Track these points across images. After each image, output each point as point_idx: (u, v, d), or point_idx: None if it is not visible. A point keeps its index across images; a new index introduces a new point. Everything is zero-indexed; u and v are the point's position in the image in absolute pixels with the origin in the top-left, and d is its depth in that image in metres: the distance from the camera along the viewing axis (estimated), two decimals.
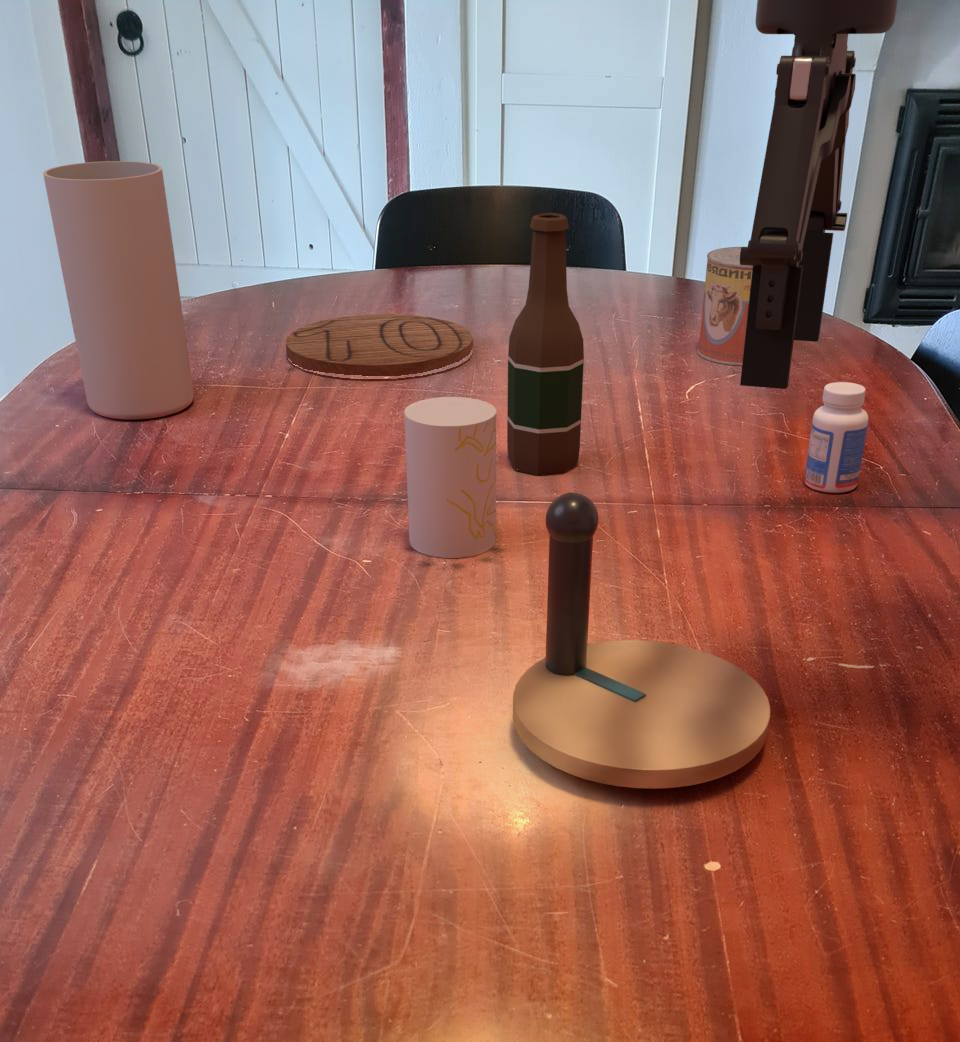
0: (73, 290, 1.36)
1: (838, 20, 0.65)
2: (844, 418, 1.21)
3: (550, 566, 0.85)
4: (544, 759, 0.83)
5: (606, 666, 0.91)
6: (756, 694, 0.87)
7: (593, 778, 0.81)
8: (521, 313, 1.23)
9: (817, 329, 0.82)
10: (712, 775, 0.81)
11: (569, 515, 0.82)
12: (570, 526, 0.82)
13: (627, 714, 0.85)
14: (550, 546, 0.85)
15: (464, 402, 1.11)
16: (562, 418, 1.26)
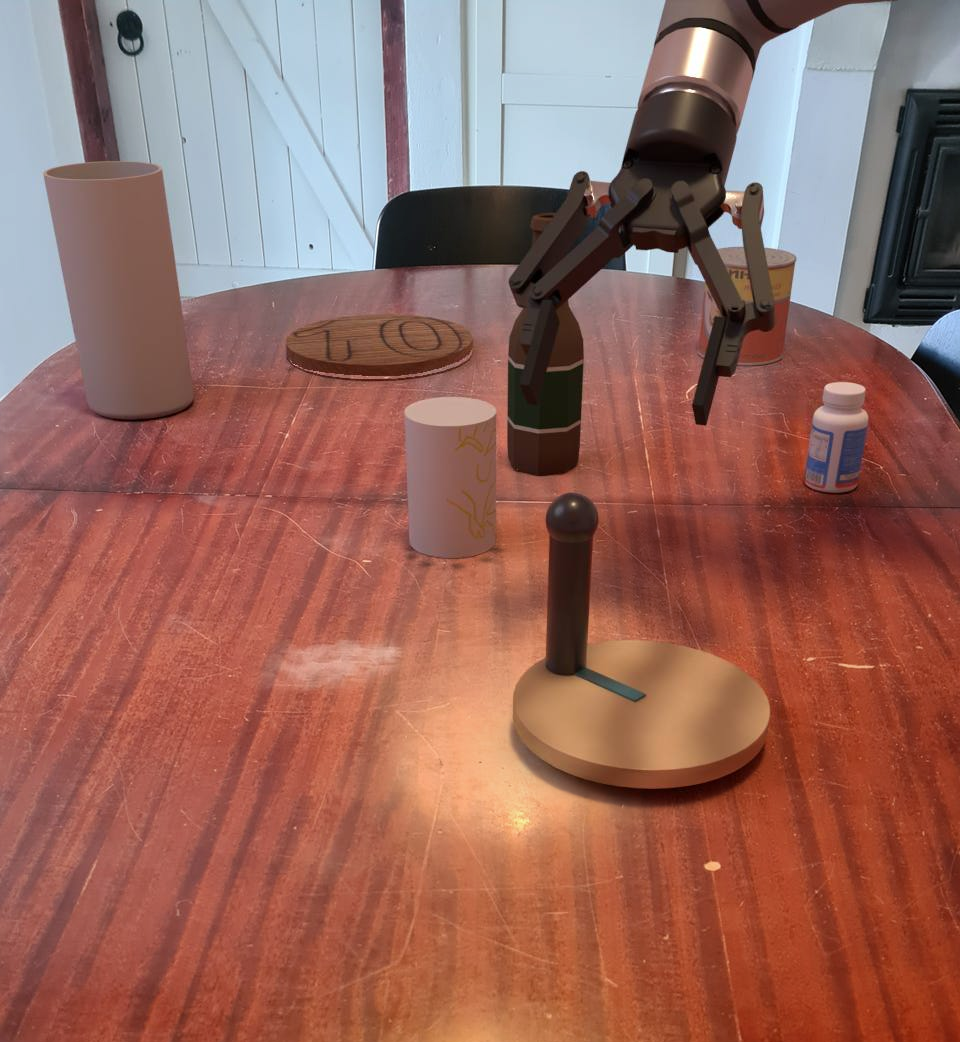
0: (73, 290, 1.36)
1: (625, 151, 0.88)
2: (844, 418, 1.21)
3: (550, 566, 0.85)
4: (544, 759, 0.83)
5: (606, 666, 0.91)
6: (756, 694, 0.87)
7: (593, 778, 0.81)
8: (521, 313, 1.23)
9: None
10: (712, 775, 0.81)
11: (569, 515, 0.82)
12: (570, 526, 0.82)
13: (627, 714, 0.85)
14: (550, 546, 0.85)
15: (464, 402, 1.11)
16: (562, 418, 1.26)
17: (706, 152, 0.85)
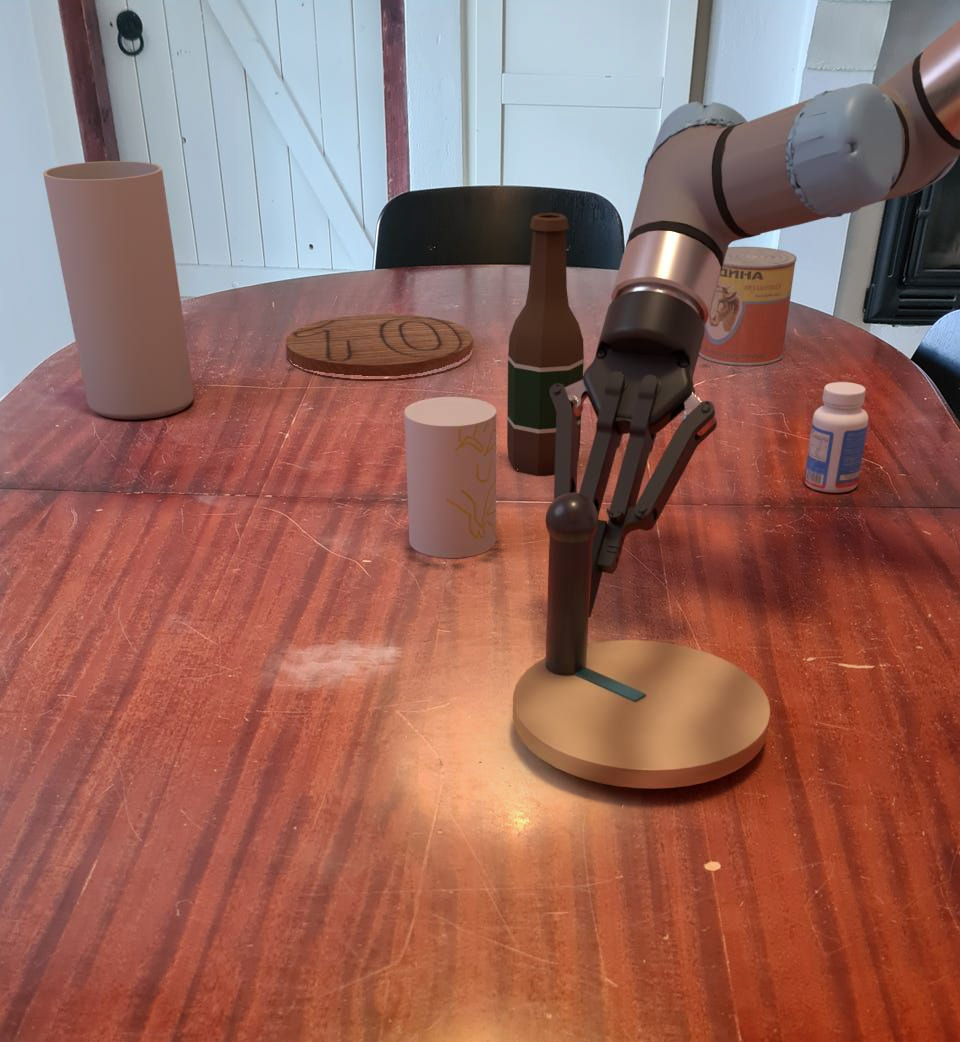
0: (73, 290, 1.36)
1: None
2: (844, 418, 1.21)
3: (550, 566, 0.85)
4: (544, 759, 0.83)
5: (606, 666, 0.91)
6: (756, 694, 0.87)
7: (593, 778, 0.81)
8: (521, 313, 1.23)
9: None
10: (712, 775, 0.81)
11: (569, 515, 0.82)
12: (570, 526, 0.82)
13: (627, 714, 0.85)
14: (550, 546, 0.85)
15: (464, 402, 1.11)
16: None
17: (674, 349, 0.90)
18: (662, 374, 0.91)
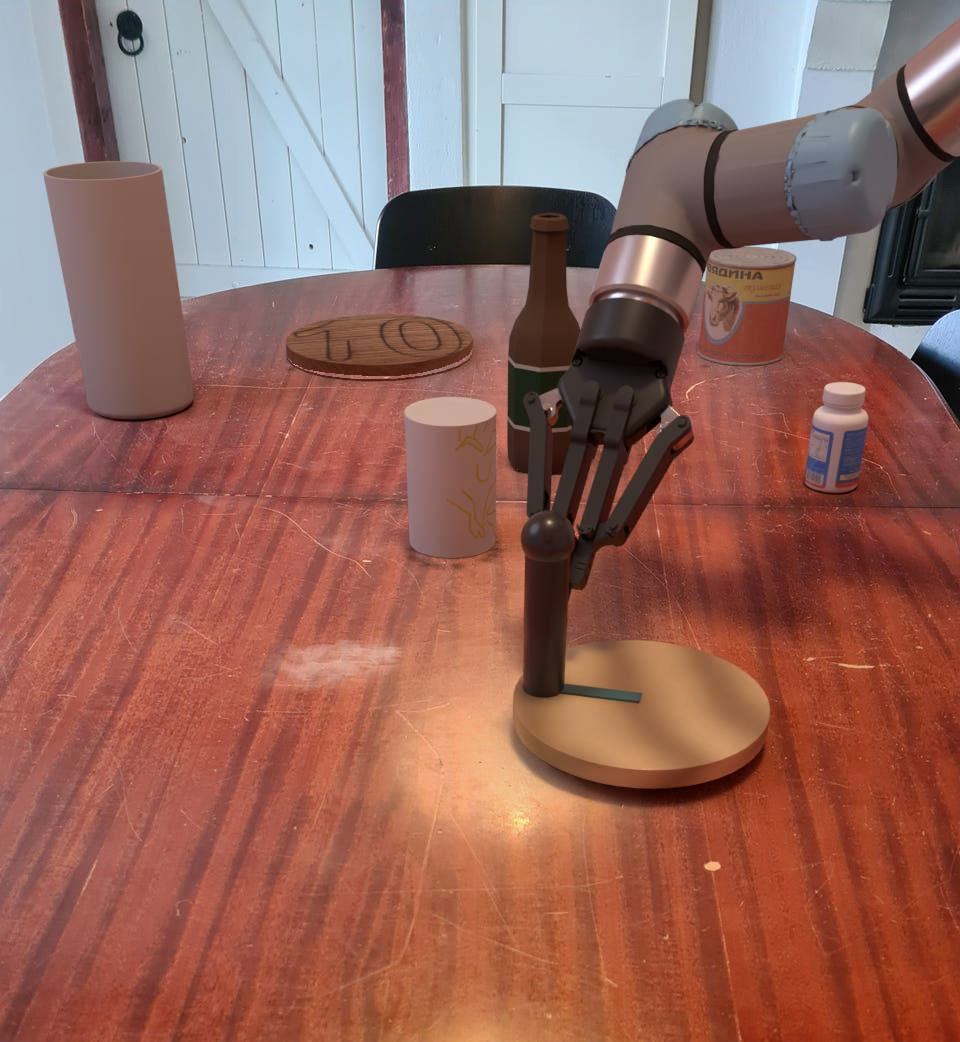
0: (73, 290, 1.36)
1: None
2: (844, 418, 1.21)
3: (533, 590, 0.82)
4: (603, 781, 0.81)
5: (579, 677, 0.89)
6: (727, 666, 0.91)
7: (664, 785, 0.80)
8: (521, 313, 1.23)
9: None
10: (757, 750, 0.83)
11: (556, 533, 0.80)
12: (559, 544, 0.80)
13: (645, 716, 0.85)
14: (532, 569, 0.82)
15: (464, 402, 1.11)
16: (562, 418, 1.26)
17: (651, 359, 0.87)
18: (639, 385, 0.88)
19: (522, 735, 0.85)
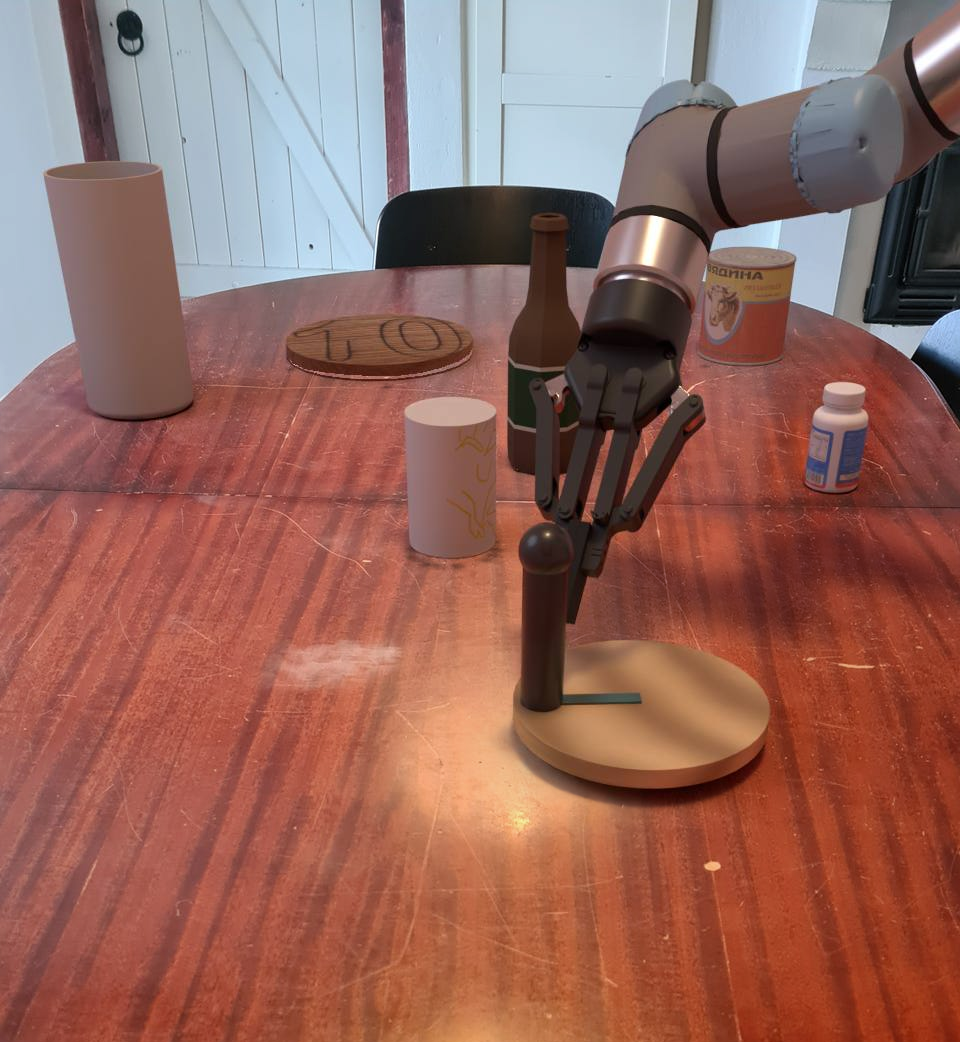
0: (73, 290, 1.36)
1: (580, 333, 0.88)
2: (844, 418, 1.21)
3: (536, 604, 0.81)
4: (642, 786, 0.81)
5: (570, 686, 0.88)
6: (702, 655, 0.92)
7: (701, 780, 0.81)
8: (521, 313, 1.23)
9: None
10: None
11: (560, 545, 0.78)
12: (564, 555, 0.79)
13: (654, 715, 0.85)
14: (535, 584, 0.80)
15: (464, 402, 1.11)
16: (562, 418, 1.26)
17: (660, 340, 0.85)
18: (647, 367, 0.86)
19: (541, 752, 0.83)
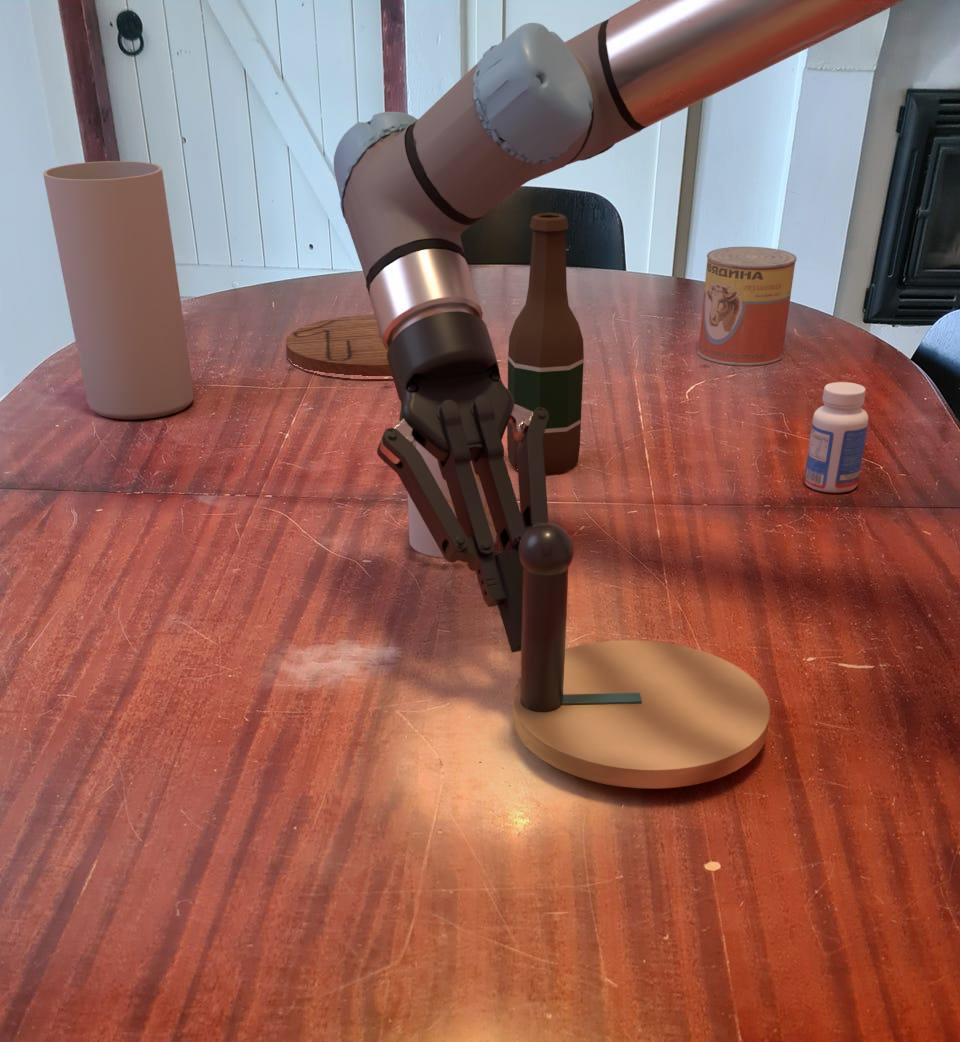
0: (73, 290, 1.36)
1: (404, 375, 0.86)
2: (844, 418, 1.21)
3: (536, 605, 0.81)
4: (642, 786, 0.81)
5: (570, 686, 0.88)
6: (701, 655, 0.92)
7: (701, 780, 0.81)
8: (521, 313, 1.23)
9: None
10: None
11: (560, 545, 0.78)
12: (564, 556, 0.79)
13: (654, 715, 0.85)
14: (535, 584, 0.80)
15: None
16: (562, 418, 1.26)
17: (491, 364, 0.87)
18: (483, 392, 0.88)
19: (542, 753, 0.83)
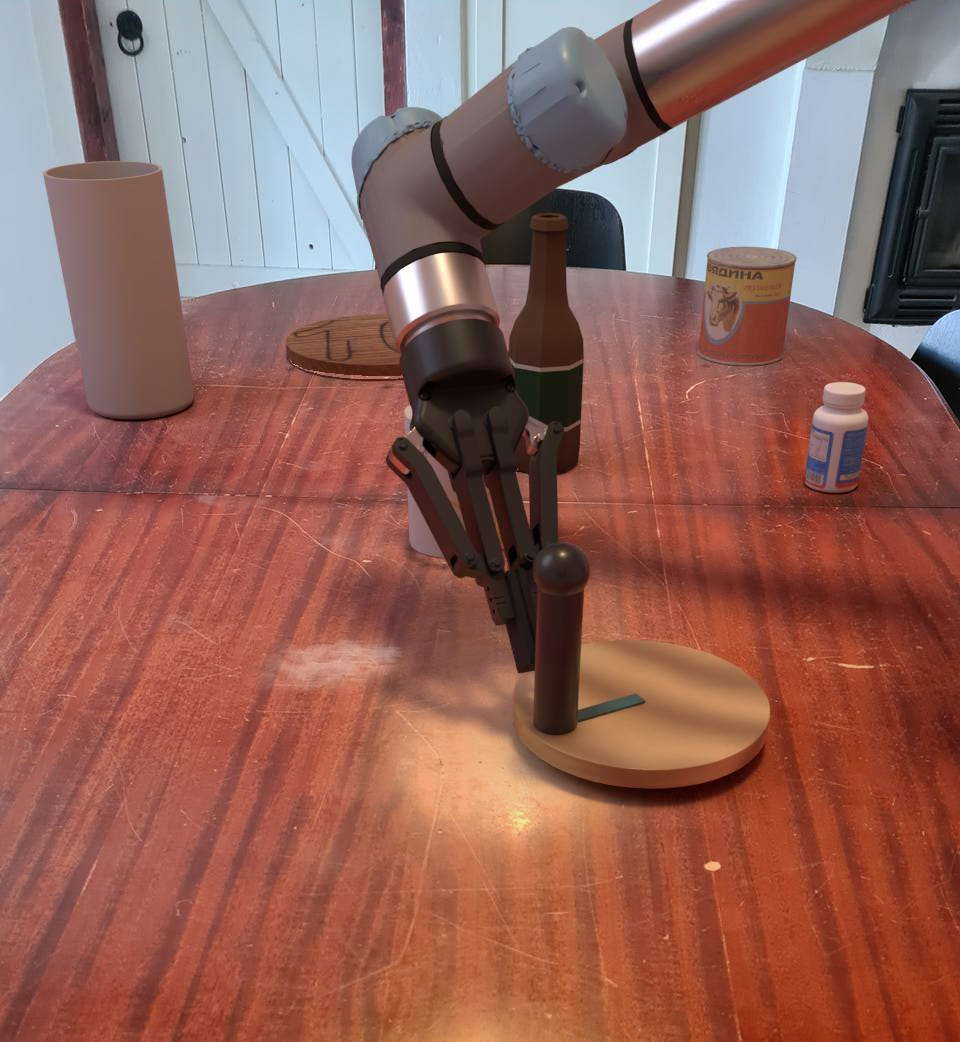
0: (73, 290, 1.36)
1: (417, 383, 0.83)
2: (844, 418, 1.21)
3: (561, 627, 0.78)
4: (702, 781, 0.81)
5: None
6: (654, 645, 0.93)
7: (746, 761, 0.83)
8: (521, 313, 1.23)
9: (534, 650, 0.83)
10: None
11: (583, 561, 0.76)
12: (587, 571, 0.77)
13: (666, 711, 0.85)
14: (560, 606, 0.77)
15: None
16: (562, 418, 1.26)
17: (506, 375, 0.84)
18: (497, 403, 0.85)
19: (591, 774, 0.81)
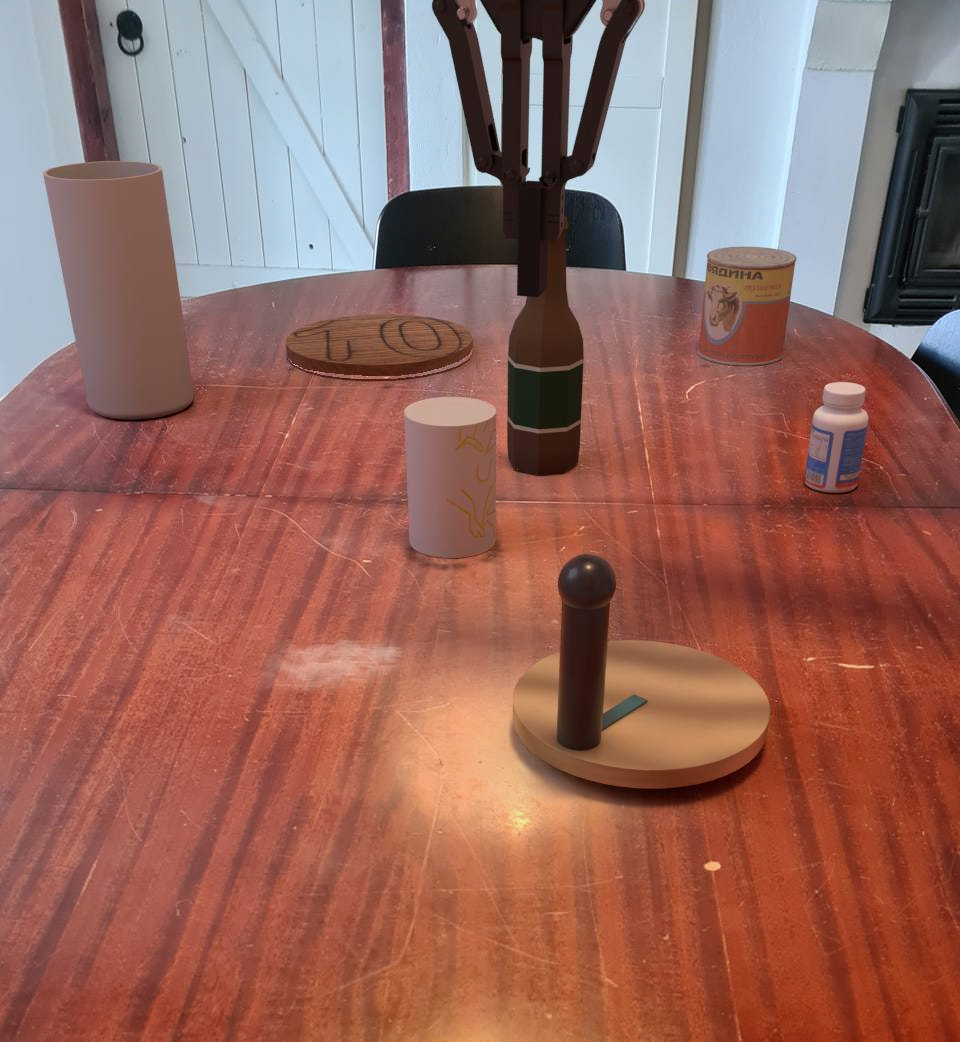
0: (73, 290, 1.36)
1: None
2: (844, 418, 1.21)
3: (595, 640, 0.77)
4: (738, 767, 0.82)
5: None
6: (616, 644, 0.93)
7: (764, 740, 0.85)
8: (521, 313, 1.23)
9: (528, 283, 0.83)
10: None
11: (612, 571, 0.75)
12: None
13: (672, 706, 0.86)
14: (594, 619, 0.76)
15: (464, 402, 1.11)
16: (562, 418, 1.26)
17: None
18: None
19: (637, 781, 0.80)
